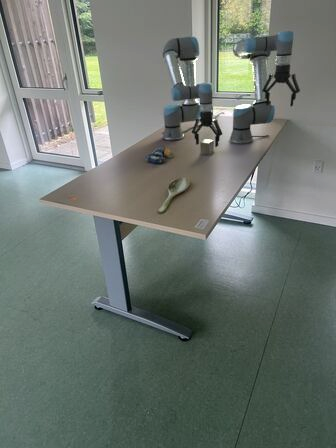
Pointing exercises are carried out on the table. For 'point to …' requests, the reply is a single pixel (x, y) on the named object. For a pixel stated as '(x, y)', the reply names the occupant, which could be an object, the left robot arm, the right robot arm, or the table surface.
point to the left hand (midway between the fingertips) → (206, 145)
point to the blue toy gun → (159, 155)
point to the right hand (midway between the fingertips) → (279, 105)
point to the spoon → (175, 190)
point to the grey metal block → (207, 147)
